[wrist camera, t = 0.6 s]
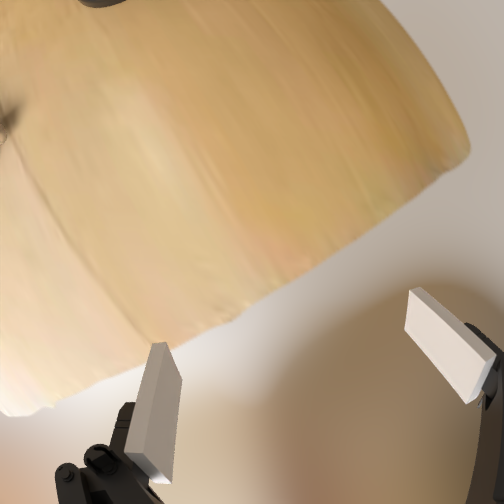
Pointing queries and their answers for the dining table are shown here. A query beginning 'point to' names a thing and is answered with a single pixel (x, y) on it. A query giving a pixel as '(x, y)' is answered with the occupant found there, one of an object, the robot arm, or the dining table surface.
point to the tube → (2, 134)
